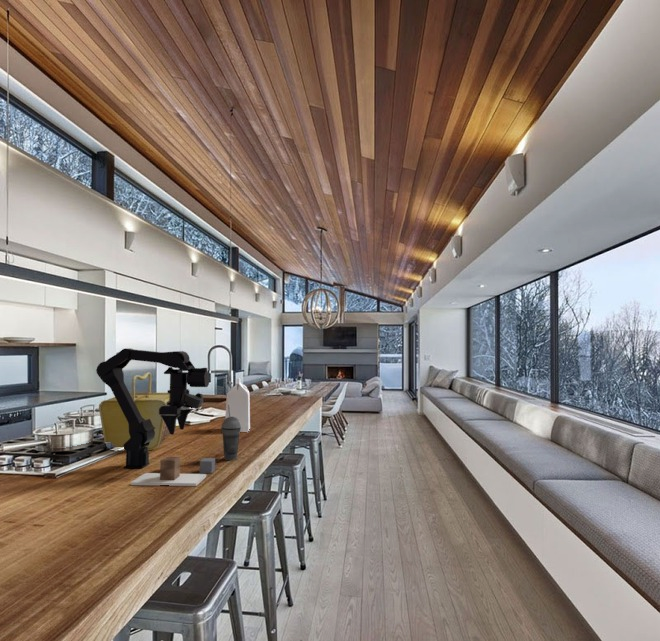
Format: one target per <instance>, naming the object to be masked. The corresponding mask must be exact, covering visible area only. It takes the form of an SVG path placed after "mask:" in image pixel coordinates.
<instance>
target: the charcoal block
mask: <svg viewBox="0 0 660 641" xmlns="http://www.w3.org/2000/svg"><path fill="white" fill-rule="evenodd" d="M215 471H216V458H215V457H203V458H202V459H201V460H199V474H212V473H214V472H215Z"/></svg>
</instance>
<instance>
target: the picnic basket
mask: <svg viewBox="0 0 660 641" xmlns="http://www.w3.org/2000/svg"><path fill="white" fill-rule="evenodd" d="M147 378H148V382H147V385H148V386H147V392H136V379H137V380H138V381H144V380H146V379H147ZM129 393H130V395H131V397H132V399H133V401H134V403H135V405H136V407H137V409H138V411H139V412H140V414H141V416H142V417H143V418H144V419H145V420H147V419H150V420H151V422H152V425H153V426H154V427H155V429H154V431H155V436H154V438H153V440H151V441H150V444H149V445H148V446H146V447H148V451H153V450H155V449H157V448H158V447H159V446H160V444H161V442H162V441H164V440H165V438H168V437H169V436H170V435H171V434H170V432H169V430H168V428H167V426H166V424H165V422H164V420H163V418H162V417H161V415H159V408H160V407H161V406H163V405H167V402H169V396H170V393H168V392H152V373H151V372H148V371H147V372H145V373H143V375H140V374H137V375H134V376H132V378H131V392H129ZM98 412H99V416H100V418H99V419H100V423H101V430H102V435H103V440H104V443H105V442H112V444H113V446H115V447H124V446H123V445H124V444H125V443H126V442H127V441H128V440H129V439H130V435H129V424H128V421H127V419H126V417H125V416H124V414H123V412H122V410H121V408H120V406H119V404H118V402H117V400H116V398H115V396H114V397H111V398H108V399H106V400H105V399H104V400H103V401H100V403H99V405H98Z"/></svg>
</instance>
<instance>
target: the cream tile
mask: <svg viewBox="0 0 660 641" xmlns="http://www.w3.org/2000/svg"><path fill="white" fill-rule="evenodd" d="M206 477H207V473H180V476H179V477H178V478H177V479H175V480H160V472H159V473H158V472H144V473H143V474H142V475H140V476H138V477H136V478H135V479H134V480H131V482H130V486H160V485H169V486H168V487H173V486H175V487H176V486H177V487H197V486H198V485H199V484H200V483H201V482H202V481H204V479H205V478H206Z"/></svg>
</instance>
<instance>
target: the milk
mask: <svg viewBox="0 0 660 641" xmlns="http://www.w3.org/2000/svg"><path fill="white" fill-rule="evenodd" d="M250 394H251V393H250V391H249V389H248V387H247V386H246V385H245V384H243V383H242V381H241V377H236V384H235V385H234V386H233V387H232V388H231V389H230V390H229V391H228V392H227V393H226V400H225V418H224V420H225V419H226V418H228V417H229V411H228V405H229V407H230V417H235V418H237V419H238V420H239V422H240V425H241V429H240V432H247V433H249V432H250V430H251V404H250V401H251V400H250V398H251V397H250ZM249 429H250V430H249ZM248 431H249V432H248Z"/></svg>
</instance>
